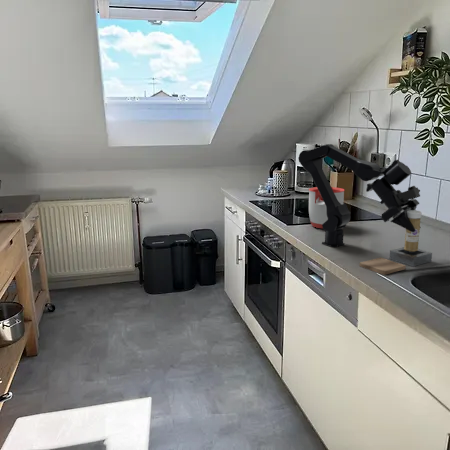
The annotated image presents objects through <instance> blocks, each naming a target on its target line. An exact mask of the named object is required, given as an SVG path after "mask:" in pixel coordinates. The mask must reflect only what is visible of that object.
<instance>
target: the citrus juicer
mask: <svg viewBox="0 0 450 450" xmlns="http://www.w3.org/2000/svg"><path fill="white" fill-rule="evenodd" d="M331 188H332V190H333V192H334V194H335V196H336V198H337V200H338V202H339V203H341V204H344V201H345V198H344V197H345V189H344V188H340V187H335V186H331ZM308 193H309V194H308V214H309V215H308V216H309V220H310V221H309V222H310V224H311V226H312V227H313V228H315V227H316V229H323V227H322V224H323V223H325V222H326V221H327V220H328V218H327V208H326V205H325V203H324V201H323V199H322V197H321V195H320V193H319V191H318V189H317V186H315V187H310V188H308Z"/></svg>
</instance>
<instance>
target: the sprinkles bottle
mask: <svg viewBox="0 0 450 450" xmlns="http://www.w3.org/2000/svg"><path fill="white" fill-rule="evenodd" d="M407 217H408V218H409V220H410V222H411V223H412V225H413V226H414V228H415V230H416V231H414V232H411V231H409V230H407V229H405V228H404V230H405V233H404V249H405V250H406V251H413V252H414V251H418V249H419V242H420V231H421V228H420V227H421V218H422V211H420V210H409V211H407Z"/></svg>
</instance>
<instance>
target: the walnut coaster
mask: <svg viewBox="0 0 450 450" xmlns="http://www.w3.org/2000/svg"><path fill="white" fill-rule="evenodd" d="M358 266H359V267H360V268H364V269H366V270H370V271H372V272H376V273H378V274H380V275H382V276H386V275H389V274H393V273H397V272H399V271H403V270H406V268H407V264H404V263H401V262H397V261H394V260H391V259H387V258H384V257H380V256H379V257H377V258H373V259H369V260H364V261H361V262H359V265H358Z"/></svg>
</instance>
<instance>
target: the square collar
mask: <svg viewBox="0 0 450 450" xmlns="http://www.w3.org/2000/svg"><path fill="white" fill-rule="evenodd" d="M404 247H405V246H404ZM404 247H398V248H394V249H391V250H389V258H388V260H390V261H394V262H397V263H400V264H403V265H406V266H407V265H408V266H411V267H416V266H420V265H424V264H427V263H430V262H432V259H433V258H432V256H433V252H431V251H426V250H422V249H419V248H418V251H414V252H413V251H406V250H405V249H404Z"/></svg>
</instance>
